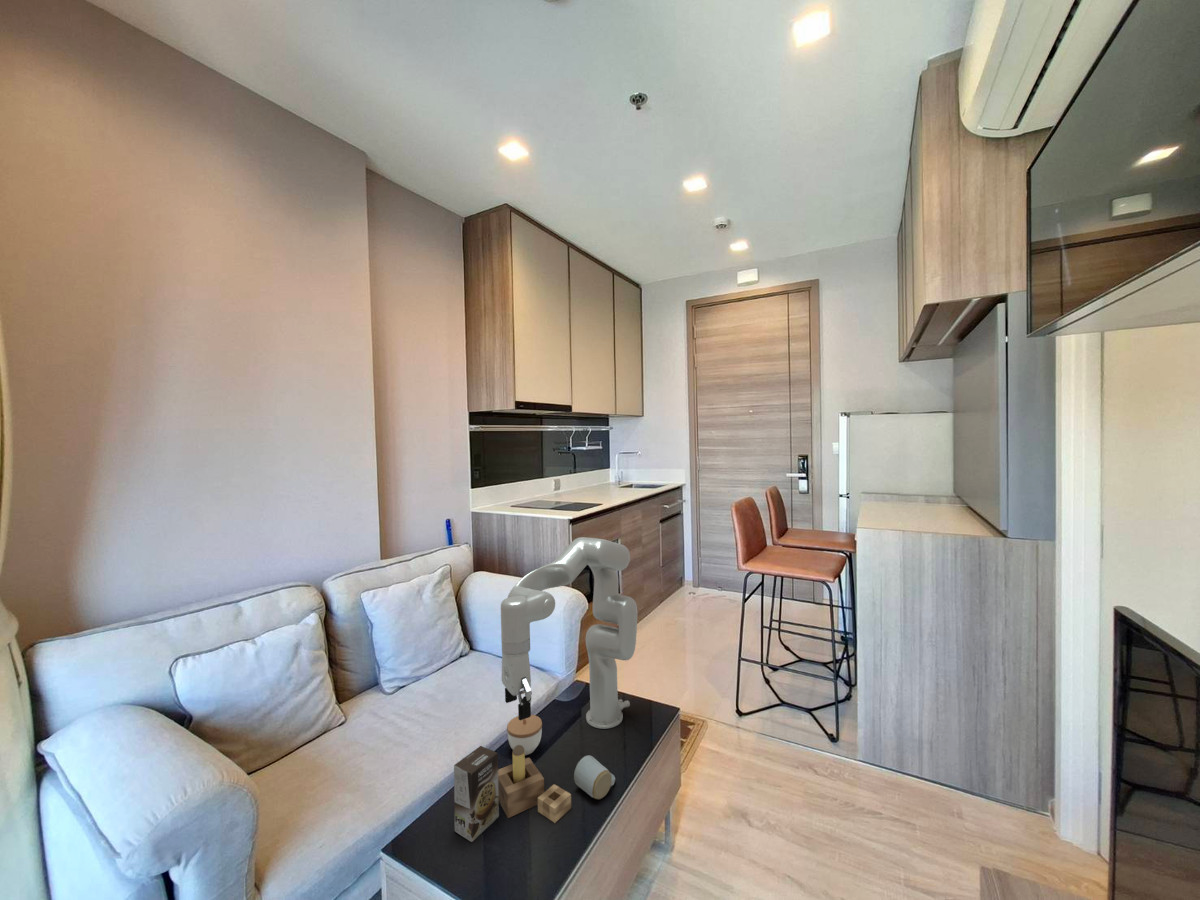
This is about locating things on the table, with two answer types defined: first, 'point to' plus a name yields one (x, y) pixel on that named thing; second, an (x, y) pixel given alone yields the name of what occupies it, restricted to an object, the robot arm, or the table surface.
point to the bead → (519, 789)
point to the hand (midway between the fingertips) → (517, 709)
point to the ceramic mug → (593, 777)
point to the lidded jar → (525, 733)
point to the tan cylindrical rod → (518, 764)
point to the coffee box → (476, 792)
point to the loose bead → (554, 803)
